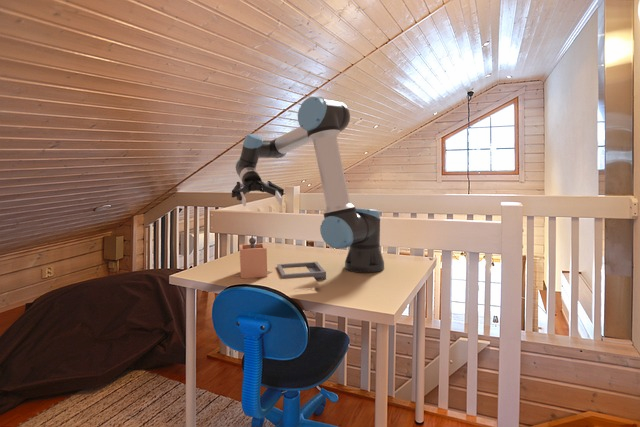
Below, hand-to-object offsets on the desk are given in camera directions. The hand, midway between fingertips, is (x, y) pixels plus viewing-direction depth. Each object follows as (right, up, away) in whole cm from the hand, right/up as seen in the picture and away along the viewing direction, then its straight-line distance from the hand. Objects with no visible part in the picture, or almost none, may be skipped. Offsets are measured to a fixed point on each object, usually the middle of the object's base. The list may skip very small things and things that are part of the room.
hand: (263, 202), depth 146 cm
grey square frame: (+14, -27, -1) cm, 30 cm away
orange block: (-3, -26, -5) cm, 26 cm away
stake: (-3, -27, -4) cm, 28 cm away
